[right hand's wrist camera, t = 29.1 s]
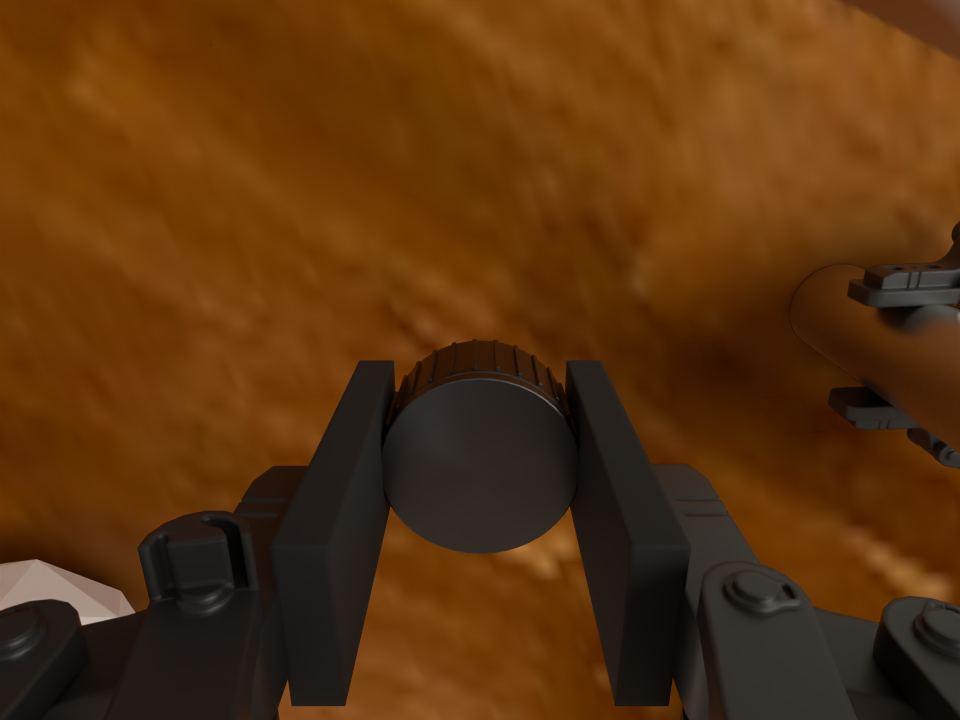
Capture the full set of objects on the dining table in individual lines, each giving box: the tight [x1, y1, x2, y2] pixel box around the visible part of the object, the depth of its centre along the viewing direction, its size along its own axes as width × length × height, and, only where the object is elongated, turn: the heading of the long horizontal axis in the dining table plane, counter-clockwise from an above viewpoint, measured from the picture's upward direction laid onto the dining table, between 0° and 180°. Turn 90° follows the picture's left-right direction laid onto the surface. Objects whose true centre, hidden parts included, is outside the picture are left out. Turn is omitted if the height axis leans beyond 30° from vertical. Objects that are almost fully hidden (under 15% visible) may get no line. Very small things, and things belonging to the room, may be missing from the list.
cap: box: [381, 339, 579, 554], centre depth 13 cm, size 4×4×2 cm
